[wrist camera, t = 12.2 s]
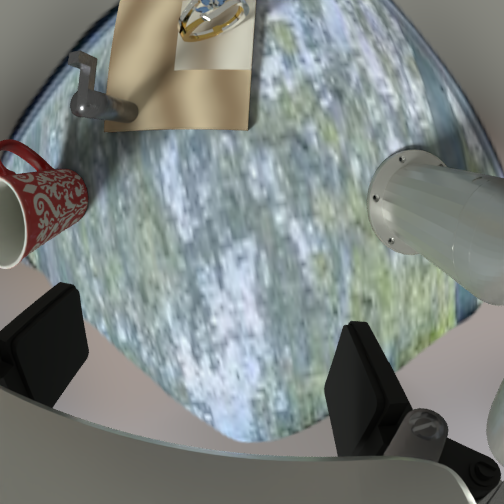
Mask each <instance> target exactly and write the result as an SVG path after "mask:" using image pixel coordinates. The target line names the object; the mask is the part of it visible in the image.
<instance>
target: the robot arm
mask: <svg viewBox="0 0 504 504" xmlns="http://www.w3.org/2000/svg"><path fill="white" fill-rule="evenodd" d="M399 157H400V158H401V160H400V161H399ZM374 195H375V199H373V196H374ZM367 212H368V217H369V221H370V224H371V226H372V229H373V231H374V232H375V234H376V236H377V237H378V238H379V239H380V240H381V241H382V242H383V243H384V244H385V245H386V246H387V247H389V248H390V249H392V250H394V251H395V252H398V253H401V254H406V255H415V254H421V255H422V256H423V257H425V258H426V259H427V260H429V261H430V262H431V263H433V264H434V265H435V266H437V267H438V268H439V269H441V270H442V271H443V272H445V273H446V274H447V275H449V276H450V277H451V278H452V279H454V280H455V281H456V282H457V283H459V284H460V285H461V286H462V287H464V288H465V289H466V290H468V291H469V292H470V293H472V294H473V295H474V296H475V297H477V298H478V299H480V300H482V301H484V302H486V303H488V304H492V305H504V178H499V177H495V176H490V175H485V174H480V173H475V172H470V171H465V170H459V169H453V168H448V167H447V166H446V165H445V163H444V162H442V161H441V160H440V159H439V158H438V157H436V156H435V155H433V154H432V153H429V152H426V151H423V150H404V151H400V152H398V153H396V154H394V155H392V156H390V157H389V158H388V159H386V160H385V161H384V162H383V163H382V164H381V165H380V167H379V168H378V169H377V170H376V172H375V174H374V176H373V178H372V180H371V183H370V186H369V189H368V195H367ZM389 239H390V240H389ZM388 240H389V241H388ZM88 353H89V349H88V344H87V338H86V333H85V328H84V321H83V315H82V308H81V301H80V294H79V291H78V290H77V289H76V287H75V286H74V285H72V284H67V283H63V282H60V283H58V284H57V285H55V286H54V287H53V288H52V289H50V290H49V291H48V292H47V293H45V294H44V295H43V296H42V297H40V298H39V299H38V300H37V301H35V302H34V303H33V304H32V305H30V306H29V307H28V308H27V309H25V310H24V311H23V312H22V313H21V314H19V315H18V316H17V317H16V318H15V319H14V320H13V321H11V322H10V323H9V324H8V325H7V326H5V327H4V328H3V329H2V330H1V331H0V504H504V481H501V480H500V479H501V472H500V468H499V467H498V464H497V463H496V462H495V461H494V460H493V459H491V458H490V457H488V456H486V455H484V454H481V453H479V452H477V451H475V450H472V449H470V448H468V447H466V446H464V445H462V444H460V443H458V442H456V441H453V440H451V439H449V438H447V436H448V426H447V423H446V421H445V420H444V418H443V417H441V416H440V415H439V414H438V413H436V412H434V411H432V410H429V409H421V408H419V409H414V410H413V409H412V407H411V405H410V403H409V401H408V399H407V397H406V395H405V393H404V391H403V389H402V387H401V385H400V383H399V381H398V379H397V377H396V375H395V373H394V371H393V369H392V367H391V365H390V363H389V362H388V360H387V358H386V356H385V354H384V353H383V351H382V349H381V347H380V345H379V343H378V341H377V339H376V338H375V336H374V334H373V332H372V330H371V328H370V327H369V325H368V323H367V322H359V321H350V322H349V324H348V325H344V326H343V329H342V332H341V336H340V339H339V342H338V346H337V349H336V352H335V355H334V358H333V362H332V365H331V368H330V371H329V374H328V377H327V380H326V383H325V388H324V392H325V397H326V402H327V407H328V411H329V416H330V420H331V425H332V429H333V435H334V440H335V444H336V449H337V454H338V457H294V456H269V455H255V454H244V453H234V452H225V451H217V450H210V449H203V448H196V447H191V446H185V445H179V444H174V443H169V442H164V441H160V440H155V439H150V438H146V437H142V436H138V435H133V434H130V433H126V432H122V431H119V430H115V429H112V428H109V427H105V426H102V425H99V424H95V423H92V422H89V421H86V420H83V419H80V418H77V417H74V416H72V415H69V414H66V413H63V412H61V411H58V410H56V409H53V406H54V405H55V403H56V402H57V400H58V399H59V397H60V396H61V395H62V393H63V392H64V390H65V389H66V387H67V386H68V384H69V383H70V382H71V380H72V379H73V377H74V376H75V375H76V373H77V372H78V370H79V369H80V368H81V366H82V365H83V363H84V362H85V361H86V359H87V357H88ZM486 434H487V441H488V445H489V448H490V450H491V452H492V454H493V455H494V457H495V458H496V460H497V461H498V462H499V463H500V464H501V465H502V466H503V467H504V379H503V381H502V383H501V385H500V388H499V389H498V392H497V394H496V397H495V399H494V401H493V403H492V406H491V409H490V412H489V416H488V420H487V429H486Z"/></svg>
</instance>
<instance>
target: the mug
mask: <svg viewBox="0 0 504 504" xmlns="http://www.w3.org/2000/svg"><path fill="white" fill-rule="evenodd" d="M1 150H7V151H10V152H13V153H15V154H16V155H18V156H20V157H21V158H22V159H24V160H25V161H27V162H28V163H29V164H30V165H32V166H33V167H34V168H35V169H36V170H37V172H30V173H22V174H16V173H15V172H13V171H10V170H8V169H7V168H6V167H4V165H3V164H2V162H1V160H0V268H2V269H10V268H13V267H15V266H16V265H18V264H19V263H20V262H21V260H22V259H23V258H24V257H26V256H27V255H28V254H30V253H31V252H33V251H34V250H36V249H37V248H39V247H40V246H41V245H43V244H44V243H46V242H47V241H49V240H50V239H52V238H53V237H55V236H56V235H58V234H60V233H61V232H62V231H64V230H65V229H67V228H69V227H70V226H72V225H73V224H75V223H77V222H78V221H79V220H80V219H81V218H82V217H83V215H84V214H85V212H86V209H87V205H88V193H87V188H86V185H85V183H84V181H83V180H82V178H81V177H80V176H79V175H78V174H77V173H76V172H74V171H72V170H70V169H57V170H55V169H54V168H52V167H51V166H50V165H49V164H48V163H47V162H46V161H45V160H44V159H43V158H42V157H41V156H39V155H38V154H37V153H36V152H35V151H33V150H32V149H31V148H29V147H28V146H26V145H25V144H23V143H21V142H19V141H16V140H10V139H9V140H3V141H0V151H1Z"/></svg>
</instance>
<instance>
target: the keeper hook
mask: <svg viewBox="0 0 504 504" xmlns="http://www.w3.org/2000/svg"><path fill="white" fill-rule="evenodd" d="M68 65H71V66H73V67H76V68H79V69H80V77H79V86H78V91H77V92H76V93H75V94H74V95H73V97H72V99H71V103H70V108H71V111H72V113H73V114H74V115H75V116H78V117H86V118H94V119H101V120H108V121H115V122H122V123H131V122H133V121H134V120H135V119H136V118H137V116H138V107H137V105H136V104H135V103H132V102H129V101H126V100H123V99H120V98H117V97H114V96H111V95H107V94H104V93H101V92H97V91H94V84H95V74H96V66H97V58H95V57H93V56H91V55H89V54H86V53H84V52H82V51H76V52H72V53H70V54H69V60H68Z"/></svg>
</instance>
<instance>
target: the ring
mask: <svg viewBox="0 0 504 504" xmlns="http://www.w3.org/2000/svg"><path fill="white" fill-rule="evenodd" d="M226 1H227V0H192V1H191V2H190V3H189V4H188V5H187V7H186V8H185V9H184V11H183V12H182V14H181V16H180V18H179V21H178V26H177V28H178V32H179V34H180V36H181V38H182V40H183V41H185V42H197V41H201V40H205V39H209V38H212V37H214V36H220V35H222V34H223V33H224V32H226V31H228V30H230V29H232V28H233V27H235V26H236V25H238V24H239V23H240V22H241V21H243V20H244V19H245V17H246V16H247V15H248V13H249V10H250V9H249V6H248V4H247V2H246V1H245V0H230V1H228V2H226ZM225 2H226V3H225ZM200 3H202V4H203V7H200V8H198V9H197V7H198V5H199V4H200ZM235 5H238V6H239V8H238V11H237V13H236V14H235V15H234V16H233V17H232V18H231V19H230V20H229V21H227V22H226V23H224V24H222V25H217V26H215V27H213V28H212V29H210V30H207V31H204V32H200V33H192V32H193V31H194V30H195V29H196V28H197V27H198V26H199V25H200V24H202V23H203V22H205V21H208V20H211V19H213V18H215V17H217V16H218V15H220V14H221V13H222V12H224V11H225V10H227V9H228V8H230V7H232V6H235ZM214 9H216V10H215V11H213V10H214ZM194 11H195V12H196V13H198V14H199V13H201V14H200V17H201V18H199V19H197V20H195V21H194V22H192V23H191V24H189V25H188V26H187V27H186V24H187V22H188V19H189V18H190V16H191V14H192V13H193V12H194ZM212 11H213V12H212ZM209 12H212V13H210V14H208V13H209Z"/></svg>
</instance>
